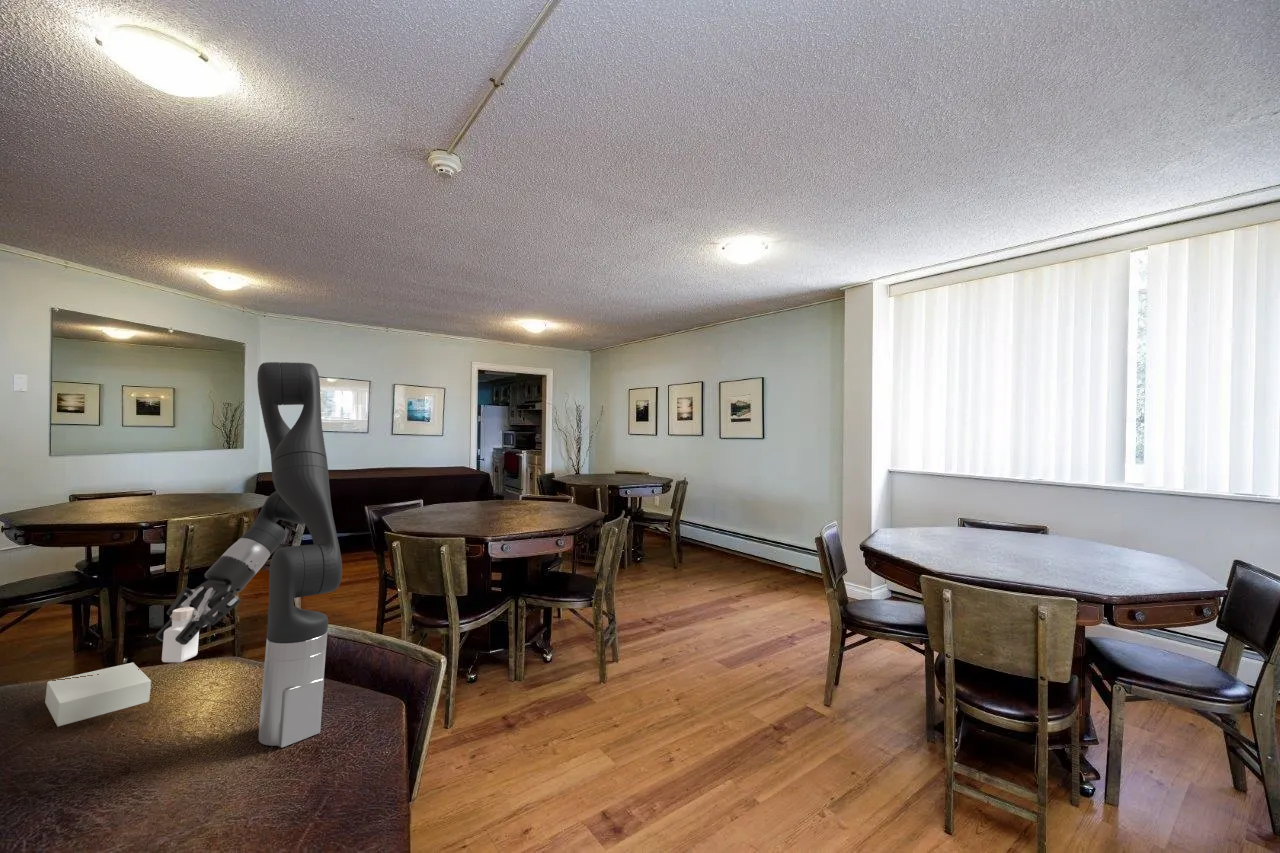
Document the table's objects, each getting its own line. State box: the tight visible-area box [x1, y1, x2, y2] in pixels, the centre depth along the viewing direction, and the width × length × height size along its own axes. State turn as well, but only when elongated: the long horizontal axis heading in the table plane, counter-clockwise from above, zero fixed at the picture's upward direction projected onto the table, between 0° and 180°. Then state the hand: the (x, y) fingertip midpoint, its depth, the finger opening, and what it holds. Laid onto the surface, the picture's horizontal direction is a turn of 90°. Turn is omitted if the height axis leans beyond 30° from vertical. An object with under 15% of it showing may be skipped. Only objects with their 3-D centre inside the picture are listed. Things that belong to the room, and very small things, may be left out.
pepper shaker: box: [161, 606, 200, 663], centre depth 99 cm, size 4×4×10 cm
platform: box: [44, 662, 152, 727], centre depth 99 cm, size 14×12×4 cm
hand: (170, 640), depth 97 cm, fingers closed on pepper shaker, 4 cm apart
